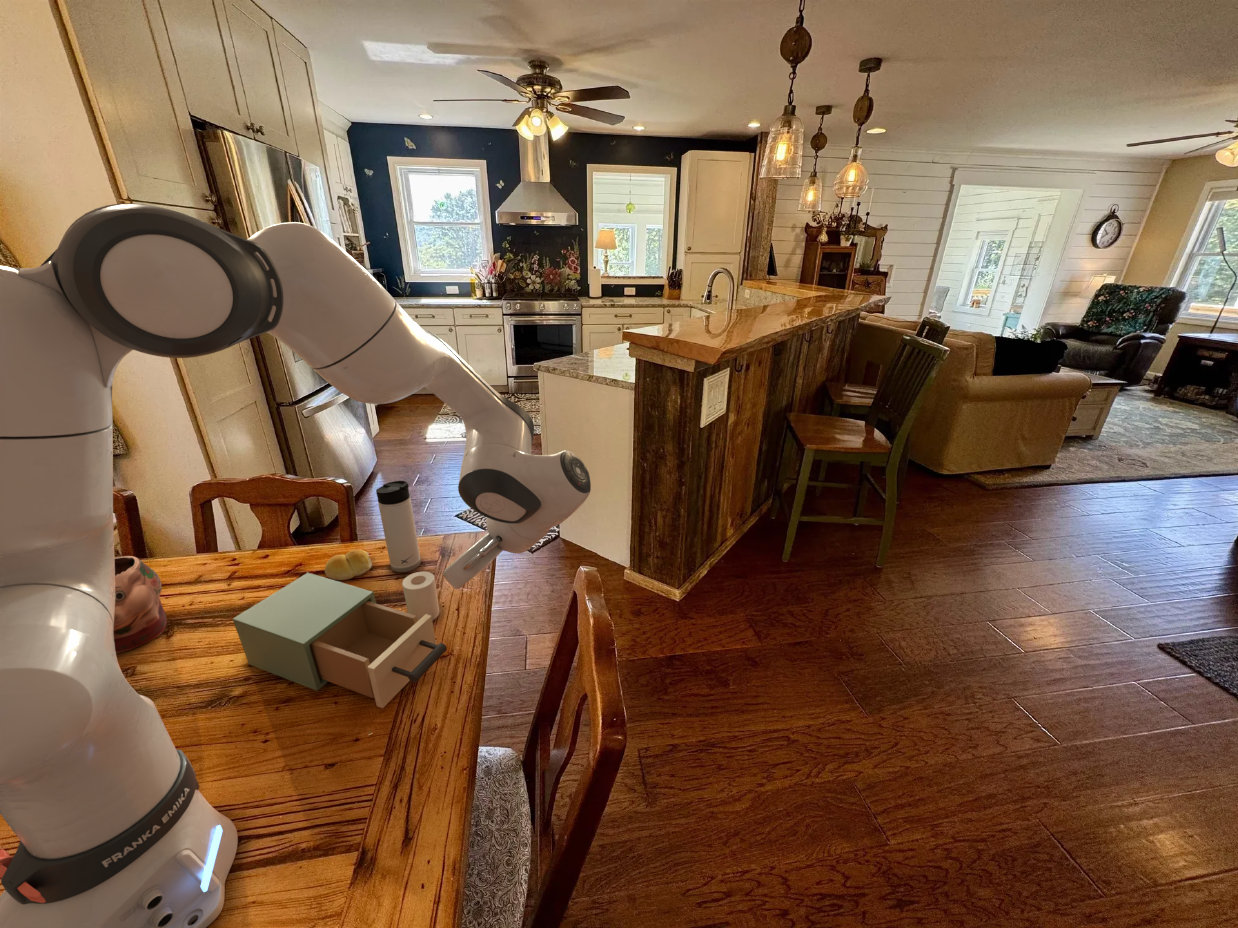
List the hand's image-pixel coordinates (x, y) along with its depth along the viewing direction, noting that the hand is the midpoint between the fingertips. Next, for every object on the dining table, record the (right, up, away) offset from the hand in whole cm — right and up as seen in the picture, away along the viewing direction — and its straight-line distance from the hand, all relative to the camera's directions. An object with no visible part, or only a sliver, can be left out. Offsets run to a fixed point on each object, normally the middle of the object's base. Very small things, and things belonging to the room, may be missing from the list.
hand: (470, 563), depth 85 cm
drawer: (-12, -17, -4) cm, 21 cm away
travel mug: (-22, -6, +25) cm, 33 cm away
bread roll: (-33, -6, +23) cm, 41 cm away
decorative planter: (-63, -14, +4) cm, 65 cm away
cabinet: (-27, -15, +1) cm, 31 cm away
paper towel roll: (-12, -12, +10) cm, 19 cm away
